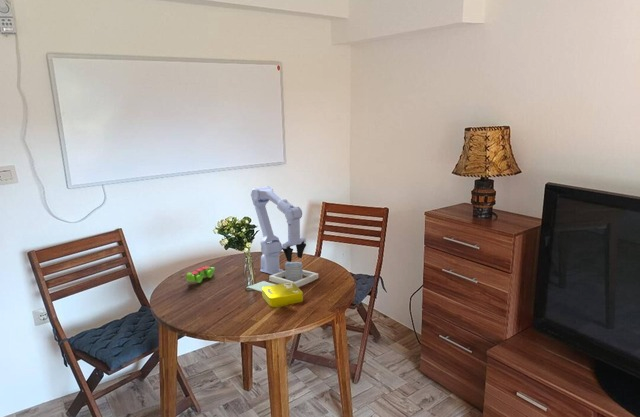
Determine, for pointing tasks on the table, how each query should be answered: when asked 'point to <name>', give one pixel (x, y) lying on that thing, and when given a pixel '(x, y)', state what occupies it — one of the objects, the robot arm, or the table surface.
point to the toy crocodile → (200, 274)
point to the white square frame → (278, 279)
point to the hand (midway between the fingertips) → (294, 259)
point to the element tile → (282, 294)
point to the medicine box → (293, 271)
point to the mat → (260, 285)
